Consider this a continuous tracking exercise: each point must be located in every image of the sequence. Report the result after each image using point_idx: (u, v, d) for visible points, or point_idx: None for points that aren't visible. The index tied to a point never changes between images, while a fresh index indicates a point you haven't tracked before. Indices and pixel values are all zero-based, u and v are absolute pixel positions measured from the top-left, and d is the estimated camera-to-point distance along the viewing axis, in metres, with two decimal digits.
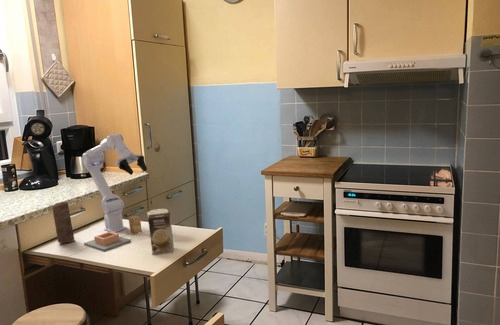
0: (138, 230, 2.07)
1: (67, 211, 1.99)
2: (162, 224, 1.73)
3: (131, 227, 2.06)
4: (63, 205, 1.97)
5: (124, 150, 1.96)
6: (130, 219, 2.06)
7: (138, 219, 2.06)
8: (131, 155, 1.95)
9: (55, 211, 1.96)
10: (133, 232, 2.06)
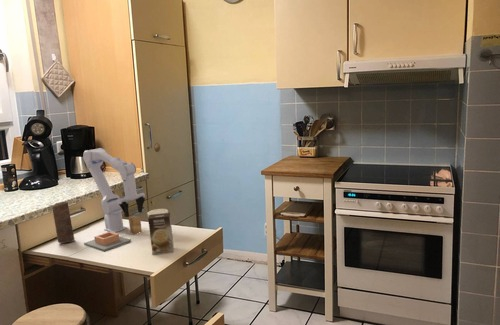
0: (138, 230, 2.07)
1: (67, 211, 1.99)
2: (162, 224, 1.73)
3: (131, 227, 2.06)
4: (63, 205, 1.97)
5: (130, 190, 2.02)
6: (130, 219, 2.06)
7: (138, 219, 2.06)
8: None
9: (55, 211, 1.96)
10: (133, 232, 2.06)
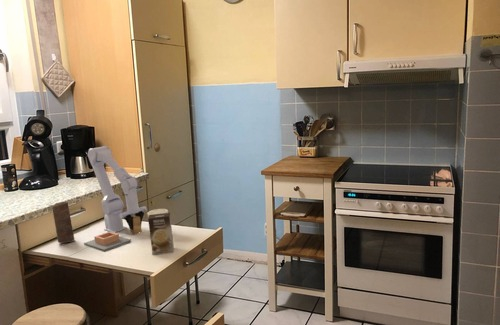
0: (138, 230, 2.07)
1: (67, 211, 1.99)
2: (162, 224, 1.73)
3: None
4: (63, 205, 1.97)
5: (132, 204, 2.03)
6: None
7: (138, 219, 2.06)
8: None
9: (55, 211, 1.96)
10: (133, 232, 2.06)
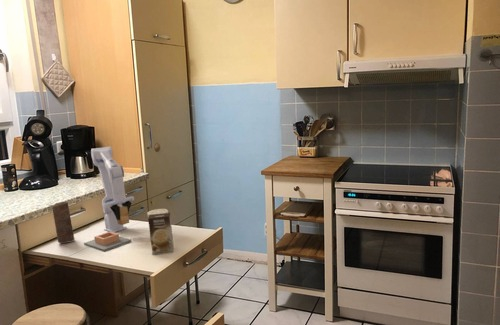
0: (125, 221, 2.00)
1: (67, 211, 1.99)
2: (162, 224, 1.73)
3: None
4: (63, 205, 1.97)
5: (119, 194, 1.97)
6: None
7: (125, 209, 2.00)
8: (123, 201, 1.98)
9: (55, 211, 1.96)
10: (120, 223, 1.99)
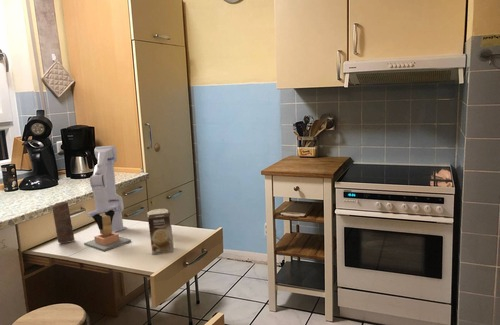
0: (108, 230, 1.93)
1: (67, 211, 1.99)
2: (162, 224, 1.73)
3: None
4: (63, 205, 1.97)
5: (101, 203, 1.89)
6: None
7: (108, 219, 1.93)
8: (106, 211, 1.91)
9: (55, 211, 1.96)
10: (103, 232, 1.92)
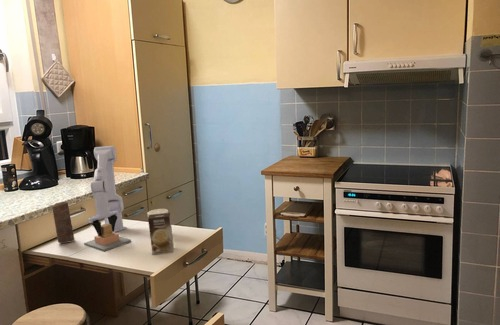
0: None
1: (67, 211, 1.99)
2: (162, 224, 1.73)
3: (102, 236, 1.93)
4: (63, 205, 1.97)
5: (102, 209, 1.90)
6: (101, 227, 1.92)
7: (109, 227, 1.93)
8: (106, 216, 1.91)
9: (55, 211, 1.96)
10: None
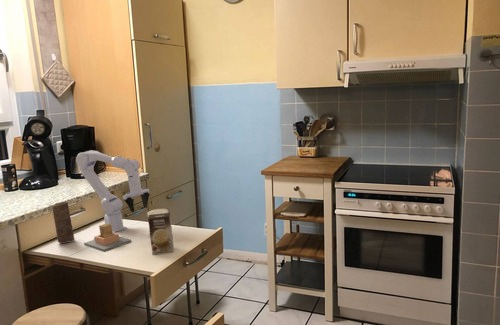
0: None
1: (67, 211, 1.99)
2: (162, 224, 1.73)
3: (102, 236, 1.93)
4: (63, 205, 1.97)
5: (135, 186, 2.07)
6: (101, 227, 1.92)
7: (109, 227, 1.93)
8: (139, 193, 2.08)
9: (55, 211, 1.96)
10: None
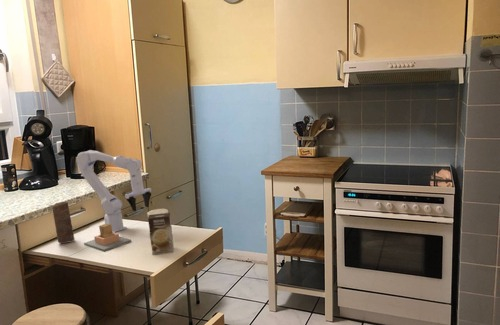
0: None
1: (67, 211, 1.99)
2: (162, 224, 1.73)
3: (102, 236, 1.93)
4: (63, 205, 1.97)
5: (137, 185, 2.08)
6: (101, 227, 1.92)
7: (109, 227, 1.93)
8: (141, 193, 2.10)
9: (55, 211, 1.96)
10: None
